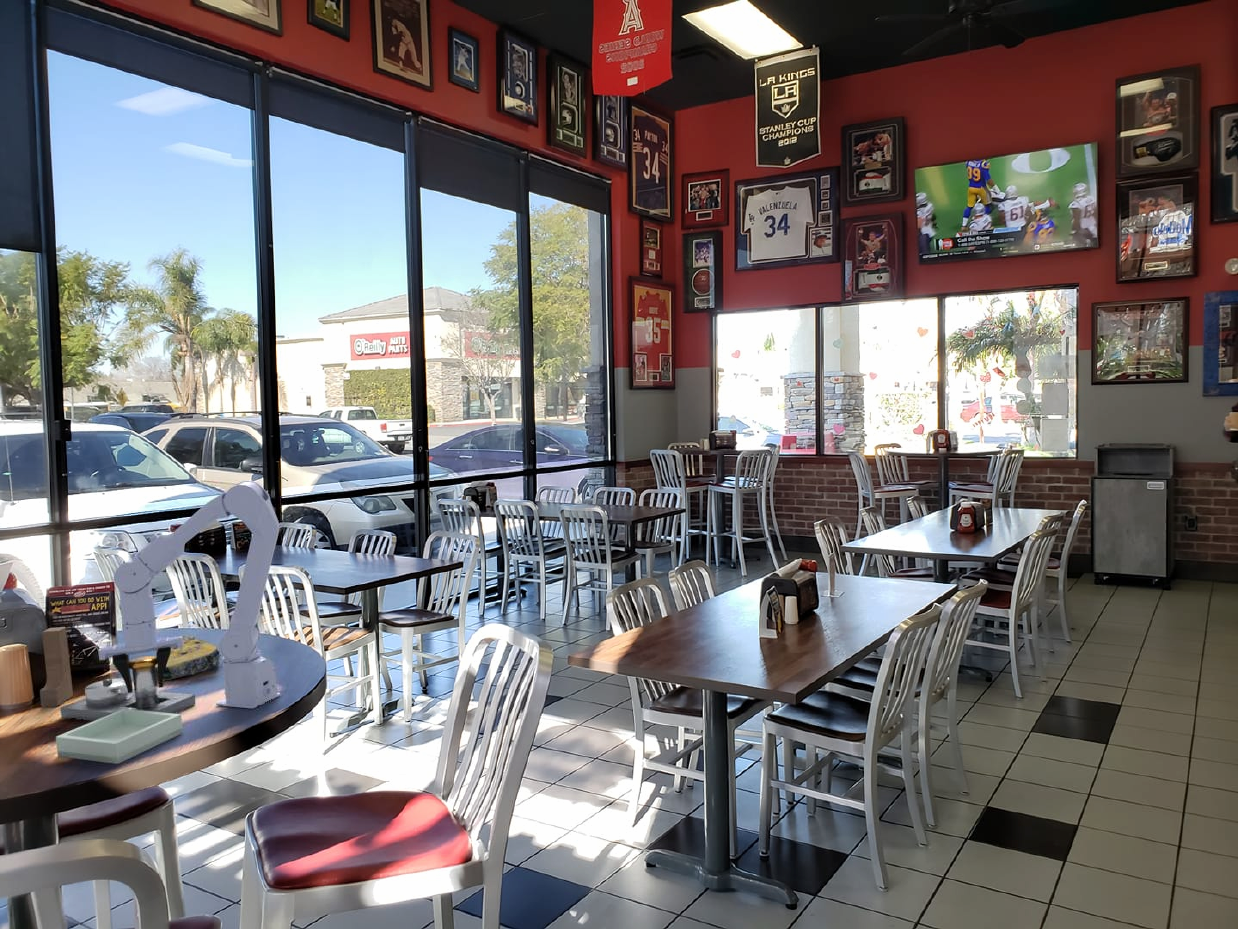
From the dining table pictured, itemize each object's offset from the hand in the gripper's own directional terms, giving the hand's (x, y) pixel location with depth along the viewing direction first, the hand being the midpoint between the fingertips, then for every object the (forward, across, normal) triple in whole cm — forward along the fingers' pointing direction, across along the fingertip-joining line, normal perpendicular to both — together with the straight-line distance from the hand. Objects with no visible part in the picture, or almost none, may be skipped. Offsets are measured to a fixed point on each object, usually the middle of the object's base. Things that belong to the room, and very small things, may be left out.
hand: (146, 688), depth 180 cm
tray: (+5, +4, +16) cm, 17 cm away
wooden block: (+5, +18, -19) cm, 26 cm away
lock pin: (+3, 0, 0) cm, 3 cm away
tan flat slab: (+5, -7, -32) cm, 33 cm away
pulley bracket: (+5, +4, -4) cm, 7 cm away
